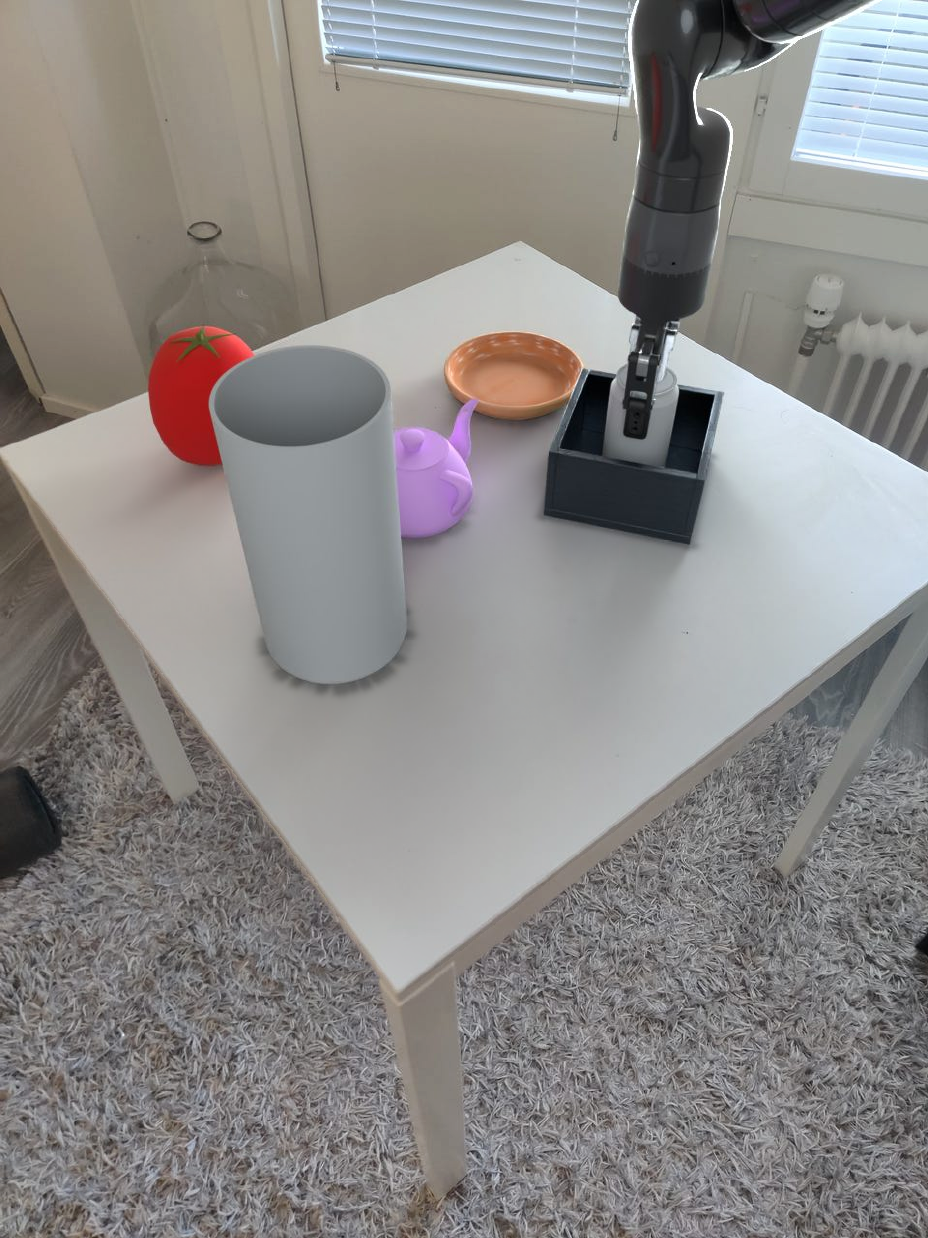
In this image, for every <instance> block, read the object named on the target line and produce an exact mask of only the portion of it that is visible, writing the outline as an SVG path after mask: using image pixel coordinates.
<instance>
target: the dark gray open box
mask: <svg viewBox="0 0 928 1238" xmlns="http://www.w3.org/2000/svg"><path fill="white" fill-rule="evenodd" d="M616 374H617V373H612V372H607V371H600V370H596V369H595V370H594V369H589V368H584V369H583V368H582V370H581V373H580V375H579V378H578V380H577V383H576V385H575V387H574V390H573V392H572V395H571V397H570V400H569V402H568V403H567V404H566V407H565V410H564V413H563V415H562V417H561V420H560V422H559V425H558V428H557V429H556V432H555V435H554V437H553V440H552V442H551V444H550V447H549V450H548V455H547V467H546V478H545V479H546V480H545V490H544V491H545V493H544V503H543V504H544V505H543V506H544V507H543V516H545V517H549V518H554V519H559V520H565V521H569V522H575V523H580V524H584V525H589V526H593V527H594V526H595V527H599V528H605V529H608V530H613V531H614V530H615V531H619V532H625V533H628V534H629V533H630V534H634V535H639V536H644V537H649V538H653V539H654V538H655V539H660V540H662V541H663V540H665V541H669V542H672V543H673V542H674V543H679V544H684V545H691V541H692V537H693V533H694V529H695V524H696V522H697V521H696V520H697V517H698V512H699V508H700V503H701V500H702V495H703V492H704V487H705V483H706V478H707V475H708V474H707V473H708V469H709V464H710V460H711V457H712V451H713V447H714V441H715V437H716V433H717V428H718V423H719V418H720V413H721V409H722V404H723V399H724V396H725V395H724V394H725V391H720V390H714V389H708V388H703V387H697V386H690V385H686V384H685V385H684V384H679V383H677V386H678V389H679V395H678V401H677V406H676V411H675V416H674V422H673V427H672V432H671V437H670V443H669V448H668V453H667V458H666V464H665V468H663V467H657V466H652V465H647V464H641V463H636V462H630V461H625V460H620V459H614V458H609V457H604V456H602V452H603V444H604V436H605V428H606V420H607V412H608V405H609V397H610V389H611V384H612V381H613V380H614V379H615V378H616Z"/></svg>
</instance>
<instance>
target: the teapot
mask: <svg viewBox="0 0 928 1238" xmlns="http://www.w3.org/2000/svg"><path fill="white" fill-rule="evenodd" d="M477 403H478V399H476V398H475V399H472V400H470V401H468V402H467V403H466V404H463V406H462V407H461V408H460V409H459V412H458V414H457V416H456V420H455V422H454V426H453V427H454V428H453V430H452V433H451V435H450V437H449V438H448V439H446V438H445V437H444V436H443V435H442V434H440V433H439V432H436V431H434V430H432V429H429V428H426V427H417V426H416V427H415V426H411V427H410V426H409V427H403V428H400V429H399V428H398V429H396V430H394V445H395V459H396V473H397V487H398V501H399V515H400V529H401V538H404V539H405V538H406V539H424V538H429V537H434V536H436V535H439V534H441V533H443V532H445V531H447V530H449V529H450V528H452V527H454V526H455V525H456V524H458V523H459V522H460V521H462V519H463V518H464V517H465V516H466V515H467V514H468V511H469V510H470V507H471V505H472V504H473V499H474V487H473V482H472V481H473V480H472V477H471V474H470V471H469V468H468V467H467V465H466V464H467V463H468V461H469V459H470V455H471V449H472V441H471V440H472V439H471V430H470V429H471V428H470V427H471V426H470V425H471V424H470V423H471V417H472V414H473V412H474V411H475V410H474V409H475V407H476V405H477Z"/></svg>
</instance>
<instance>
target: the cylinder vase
mask: <svg viewBox="0 0 928 1238" xmlns="http://www.w3.org/2000/svg"><path fill="white" fill-rule="evenodd" d="M254 355H255V356H253V357H250V358H248V359H246V360H244V361H242V362H240V363H238V364H237V365H235V366H234V367H232V368H231V369H229V370H228V371H227V372H226V373H225V374H224V375H223V376H222V377H221V378H220V379H219V380H218V381H217V382H216V384H215V385H214V387H213V389H212V391H211V394H210V398H209V410H210V414H211V418H212V423H213V427H214V431H215V435H216V439H217V443H218V447H219V452H220V456H221V460H222V464H221V465H222V468H223V472H224V477H225V480H226V484H227V488H228V492H229V493H228V494H229V497H230V501H231V505H232V510H233V513H234V517H235V521H236V526H237V531H238V534H239V538H240V542H241V546H242V551H243V555H244V559H245V563H246V567H247V571H248V576H249V580H250V584H251V589H252V592H253V596H254V600H255V604H256V609H257V613H258V618H259V621H260V626H261V629H262V634H263V638H264V641H265V646H266V648H267V651H268V652H269V655H270V656H271V658H272V660H273V661H274V663H276V665H278V666H279V667H280V668H281V669H282V670H284V671H285V672H286V673H288V674H289V675H291V676H293V677H295V678H297V679H300V680H303V681H306V682H310V683H315V684H320V685H321V684H322V685H339V684H347V683H352V682H355V681H358V680H361V679H364V678H367V677H369V676H371V675H373V674H374V673H375V674H376V672H379V671H380V670H382V669H383V668H384V667H385V666H386V665H388V664H389V663H390V662H391V661H392V660H393V659H394V657H395V656H396V655H397V654H398V653H399V651H400V649H401V648H402V646H403V644H404V642H405V639H406V635H407V630H408V617H407V616H408V615H407V603H406V600H407V599H406V591H405V590H406V588H405V587H406V586H405V574H404V573H405V572H404V561H403V560H404V559H403V546H402V537H401V529H400V515H399V501H398V487H397V473H396V459H395V445H394V431H395V430H394V419H393V404H392V390H391V383H390V380H389V378H388V376H387V374H386V373H385V371H384V370H383V369H382V368H381V367H380V366H379V365H378V364H377V363H376V362H374V361H373V360H372V359H370V358H368V357H366V356H364V355H362V354H360V353H357V352H355V351H352V350H348V349H345V348H340V347H336V346H328V345H317V344H316V345H315V344H307V345H306V344H304V345H302V344H301V345H293V346H285V347H280V348H279V347H278V348H274V349H271V350H267V351H264V352H261V353H258V354H254Z"/></svg>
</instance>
